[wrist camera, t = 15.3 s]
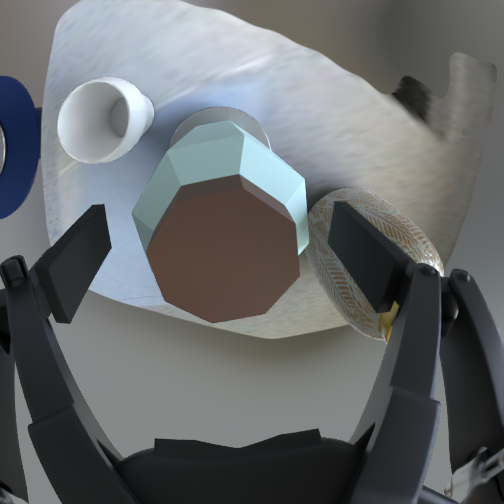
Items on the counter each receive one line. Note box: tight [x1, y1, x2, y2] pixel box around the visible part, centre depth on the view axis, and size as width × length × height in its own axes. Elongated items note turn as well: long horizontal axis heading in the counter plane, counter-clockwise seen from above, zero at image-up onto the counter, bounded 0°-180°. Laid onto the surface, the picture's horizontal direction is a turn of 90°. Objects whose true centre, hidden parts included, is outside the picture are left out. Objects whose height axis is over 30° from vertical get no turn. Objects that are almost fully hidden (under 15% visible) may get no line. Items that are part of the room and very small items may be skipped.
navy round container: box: [169, 107, 271, 150], centre depth 37 cm, size 13×13×9 cm
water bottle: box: [132, 120, 309, 323], centre depth 22 cm, size 10×10×25 cm
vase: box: [304, 187, 444, 344], centre depth 38 cm, size 17×17×27 cm
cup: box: [57, 76, 154, 164], centre depth 30 cm, size 11×11×15 cm
